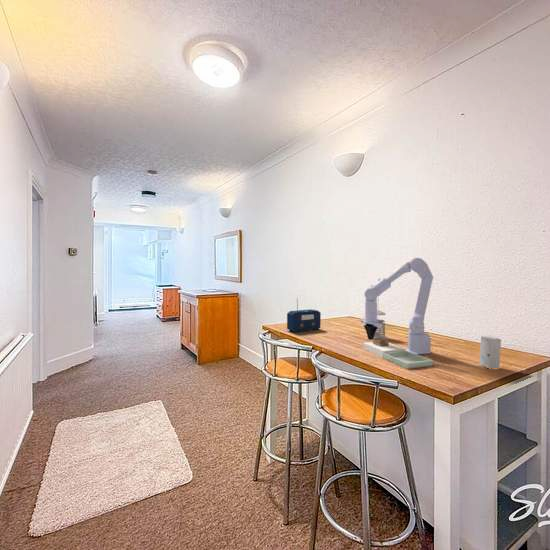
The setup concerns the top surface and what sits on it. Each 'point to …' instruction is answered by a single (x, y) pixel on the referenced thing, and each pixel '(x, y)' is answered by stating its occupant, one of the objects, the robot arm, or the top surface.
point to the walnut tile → (380, 342)
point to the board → (381, 348)
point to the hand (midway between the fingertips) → (370, 339)
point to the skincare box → (490, 351)
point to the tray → (407, 359)
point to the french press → (377, 334)
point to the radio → (303, 320)
